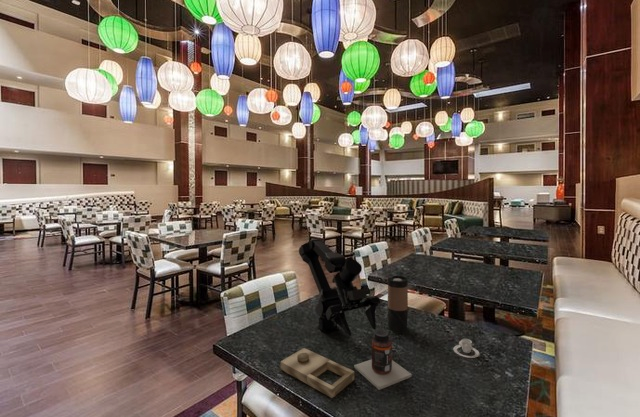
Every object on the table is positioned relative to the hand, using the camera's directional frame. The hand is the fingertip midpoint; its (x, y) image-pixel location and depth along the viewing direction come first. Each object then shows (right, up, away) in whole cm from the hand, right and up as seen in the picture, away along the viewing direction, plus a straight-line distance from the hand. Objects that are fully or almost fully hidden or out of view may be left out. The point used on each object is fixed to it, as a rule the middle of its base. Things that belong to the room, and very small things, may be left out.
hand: (362, 332), depth 99 cm
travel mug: (+17, -7, +22) cm, 28 cm away
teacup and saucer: (+38, -9, +5) cm, 40 cm away
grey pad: (+5, -9, -6) cm, 12 cm away
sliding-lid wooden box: (-15, -10, -7) cm, 19 cm away
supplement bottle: (+5, -9, -6) cm, 12 cm away
